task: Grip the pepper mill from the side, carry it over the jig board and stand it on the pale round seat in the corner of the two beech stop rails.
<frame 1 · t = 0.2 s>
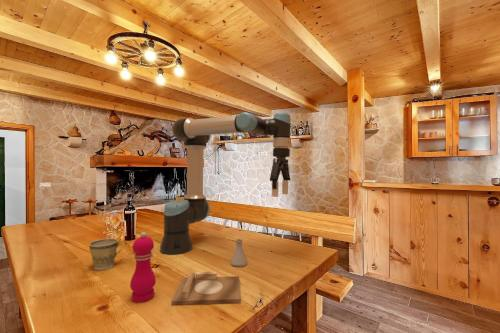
hand: (280, 195, 109), 28 cm above the table, tool pointing down, fingers open, 13 cm apart
pepper mill: (143, 297, 75), on the table
ceramic cup: (108, 266, 98), on the table
jig board: (208, 291, 78), on the table
flask: (239, 264, 101), on the table
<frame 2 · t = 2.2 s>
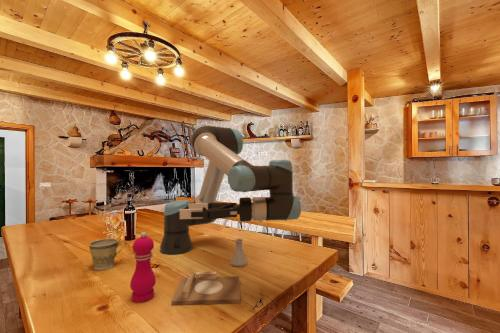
hand: (184, 210, 76), 26 cm above the table, tool horizontal, fingers open, 13 cm apart
nothing on the table moved.
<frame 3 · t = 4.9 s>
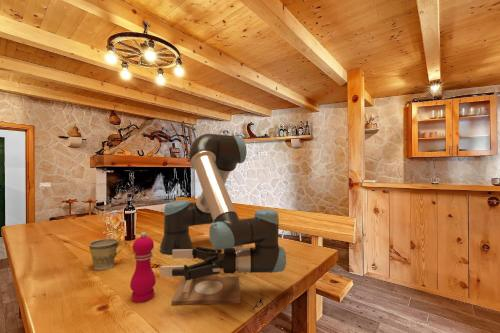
hand: (167, 261, 75), 11 cm above the table, tool horizontal, fingers open, 13 cm apart
nothing on the table moved.
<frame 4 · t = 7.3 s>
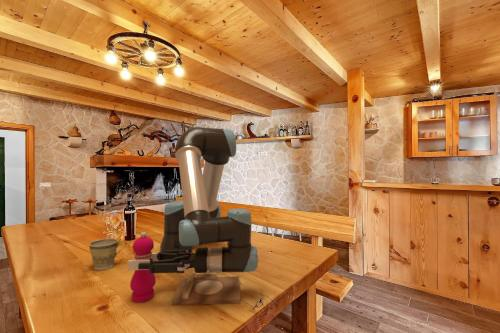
hand: (132, 261, 75), 11 cm above the table, tool horizontal, fingers closed on pepper mill, 5 cm apart
pepper mill: (143, 297, 75), on the table, touching gripper
everything else where it was.
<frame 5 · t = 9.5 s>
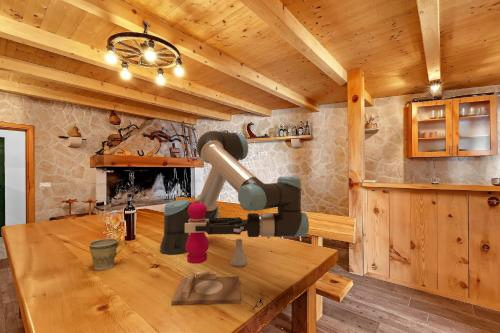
hand: (187, 225, 77), 21 cm above the table, tool horizontal, fingers closed on pepper mill, 5 cm apart
pepper mill: (197, 260, 77), point 10 cm above the table, touching gripper
everything else where it was.
when the fingers open (13 cm above the table, at t = 12.0 s): pepper mill stays where it is, resting on jig board.
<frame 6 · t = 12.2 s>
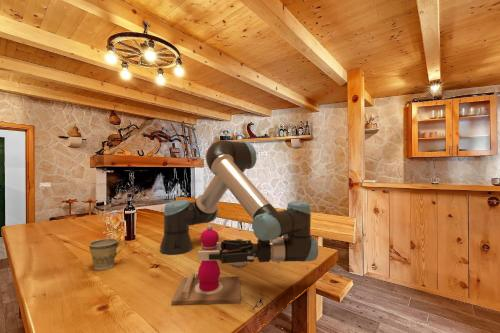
hand: (200, 251, 78), 13 cm above the table, tool horizontal, fingers open, 8 cm apart
pepper mill: (208, 287, 78), point 1 cm above the table, touching jig board
everything else where it was.
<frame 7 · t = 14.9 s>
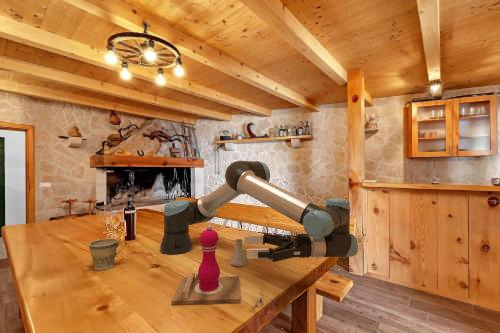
hand: (245, 246, 79), 14 cm above the table, tool horizontal, fingers open, 13 cm apart
nothing on the table moved.
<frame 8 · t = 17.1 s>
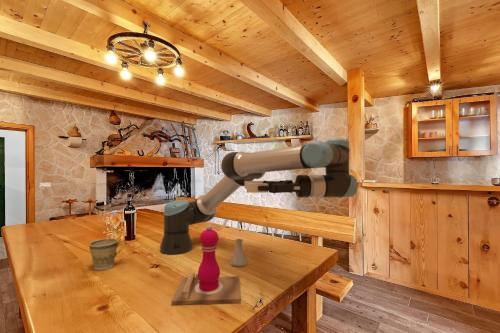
hand: (245, 186, 79), 34 cm above the table, tool horizontal, fingers open, 13 cm apart
nothing on the table moved.
at the end: pepper mill inside the target area on the jig board (0.0 cm from its centre), point 1.2 cm above the jig board's base; pepper mill tilted 0°; the gripper is holding nothing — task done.
